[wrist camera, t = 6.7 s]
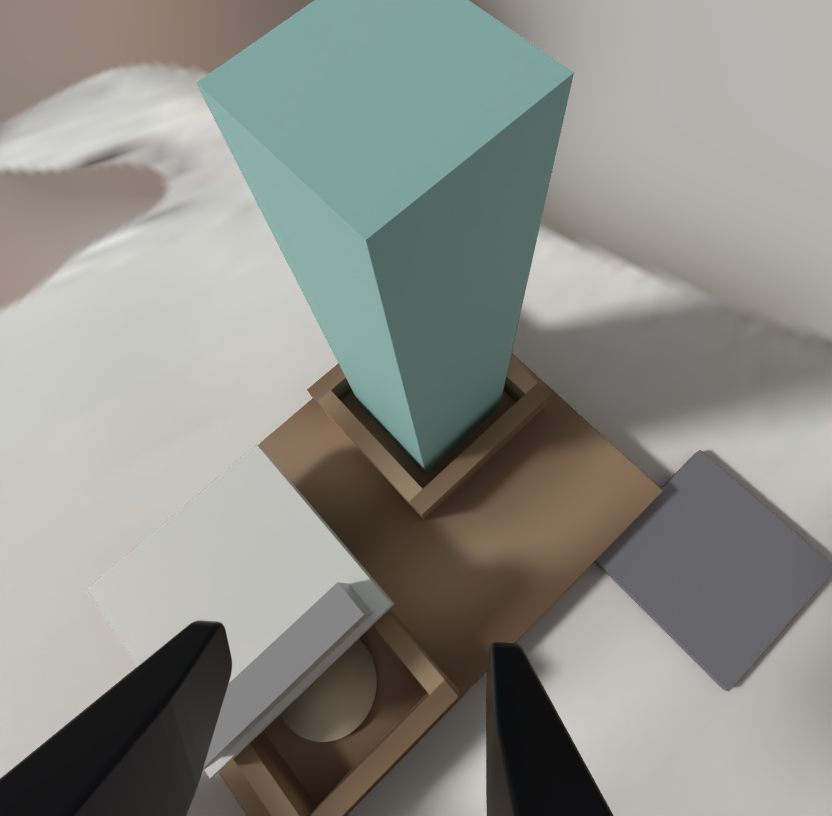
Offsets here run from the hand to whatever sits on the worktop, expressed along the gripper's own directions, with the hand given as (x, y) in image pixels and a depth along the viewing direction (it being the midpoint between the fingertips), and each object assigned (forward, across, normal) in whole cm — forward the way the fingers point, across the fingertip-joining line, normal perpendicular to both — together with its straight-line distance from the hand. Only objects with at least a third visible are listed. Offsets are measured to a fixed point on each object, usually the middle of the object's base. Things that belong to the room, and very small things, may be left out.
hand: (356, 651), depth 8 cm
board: (+12, +2, +8) cm, 14 cm away
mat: (+11, -11, +8) cm, 17 cm away
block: (+15, 0, +3) cm, 15 cm away
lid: (+8, +6, +7) cm, 12 cm away
